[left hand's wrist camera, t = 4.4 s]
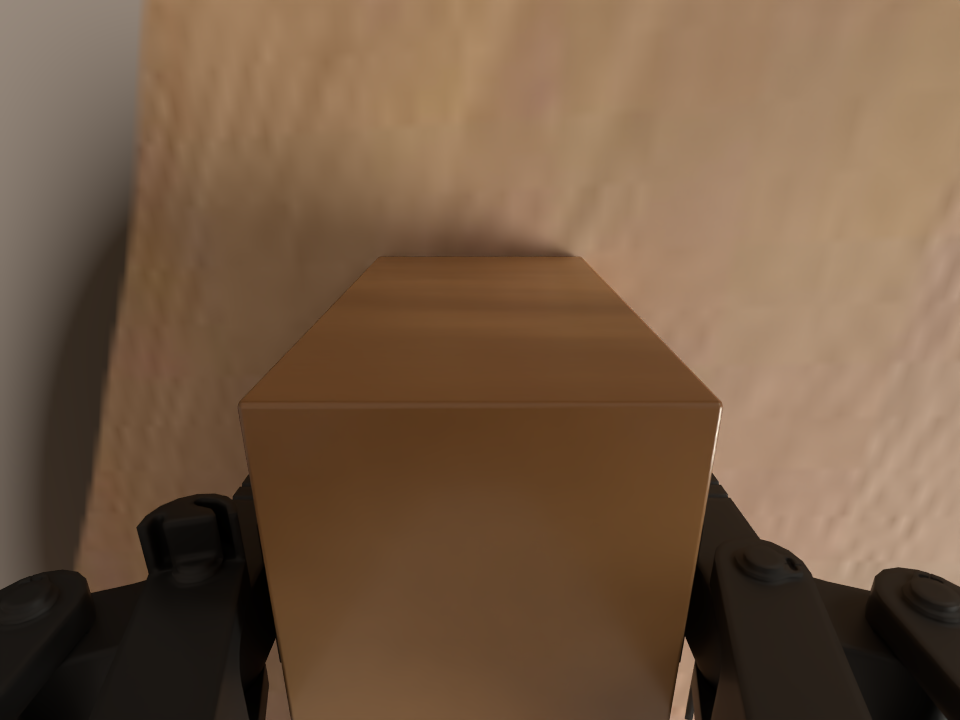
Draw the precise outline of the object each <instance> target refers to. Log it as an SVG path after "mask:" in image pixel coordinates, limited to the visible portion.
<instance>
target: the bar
mask: <svg viewBox="0 0 960 720" xmlns="http://www.w3.org/2000/svg"><path fill="white" fill-rule="evenodd" d="M722 410H723V405H722V402H721V401H720V400H719V399H718V398H717V397H716V396H715V395H714V394H713V393H712V392H711V391H710V390H709V389H708V388H707V387H706V386H705V384H704V383H703V382H702V381H701V380H700V379H699V378H698V377H697V376H696V375H695V374H694V373H693V372H692V371H691V370H690V369H689V368H688V367H687V366H686V365H685V364H684V363H683V362H682V361H681V360H680V359H679V358H678V357H677V356H676V354H675V353H674V352H673V351H672V350H671V349H670V348H669V347H668V346H667V345H666V344H665V343H664V342H663V341H662V340H661V339H660V338H659V337H658V336H657V335H656V334H655V333H654V332H653V331H652V330H651V329H650V328H649V327H648V326H647V325H646V323H645V322H644V321H643V320H642V319H641V318H640V317H639V316H638V315H637V314H636V313H635V312H634V311H633V310H632V309H631V308H630V307H629V306H628V305H627V304H626V303H625V302H624V301H623V300H622V299H621V298H620V297H619V296H618V295H617V293H616V292H615V291H614V290H613V289H612V288H611V287H610V286H609V285H608V284H607V283H606V282H605V281H604V280H603V279H602V278H601V277H600V276H599V275H598V274H597V273H596V272H595V271H594V270H593V269H592V268H591V267H590V266H589V265H588V264H587V262H586V261H585V260H584V259H583V258H582V257H379V258H378V259H377V260H376V261H375V262H374V263H373V264H372V265H371V266H370V267H369V268H368V269H367V270H366V271H365V272H364V273H363V274H362V275H361V276H360V277H359V278H358V279H357V280H356V281H355V282H354V283H353V285H352V286H351V287H350V288H349V289H348V290H347V291H346V292H345V293H344V294H343V295H342V296H341V297H340V298H339V299H338V300H337V301H336V302H335V303H334V304H333V305H332V306H331V307H330V308H329V309H328V310H327V312H326V313H325V314H324V315H323V316H322V317H321V318H320V319H319V320H318V321H317V322H316V323H315V324H314V325H313V326H312V327H311V328H310V329H309V330H308V331H307V332H306V333H305V334H304V335H303V336H302V337H301V338H300V340H299V341H298V342H297V343H296V344H295V345H294V346H293V347H292V348H291V349H290V350H289V351H288V352H287V353H286V354H285V355H284V356H283V357H282V358H281V359H280V360H279V361H278V362H277V363H276V364H275V365H274V366H273V368H272V369H271V370H270V371H269V372H268V373H267V374H266V375H265V376H264V377H263V378H262V379H261V380H260V381H259V382H258V383H257V384H256V385H255V386H254V387H253V388H252V389H251V390H250V391H249V392H248V393H247V395H246V396H245V397H244V398H243V399H242V400H241V401H240V402H239V404H238V412H239V418H240V424H241V430H242V435H243V441H244V447H245V453H246V459H247V465H248V471H249V476H250V482H251V488H252V494H253V500H254V506H255V511H256V517H257V523H258V529H259V535H260V541H261V546H262V552H263V558H264V564H265V570H266V576H267V582H268V587H269V593H270V599H271V605H272V611H273V617H274V622H275V628H276V634H277V640H278V646H279V652H280V657H281V663H282V669H283V675H284V681H285V687H286V693H287V698H288V704H289V710H290V716H291V720H669V719H670V713H671V707H672V702H673V696H674V690H675V684H676V678H677V673H678V667H679V661H680V655H681V649H682V643H683V638H684V632H685V626H686V620H687V614H688V608H689V603H690V597H691V591H692V585H693V579H694V574H695V568H696V562H697V556H698V550H699V544H700V539H701V533H702V527H703V521H704V515H705V509H706V504H707V498H708V492H709V486H710V480H711V475H712V469H713V463H714V457H715V451H716V445H717V440H718V434H719V428H720V422H721V416H722Z"/></svg>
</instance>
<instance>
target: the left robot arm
mask: <svg viewBox="0 0 960 720" xmlns="http://www.w3.org/2000/svg"><path fill="white" fill-rule="evenodd" d="M137 531H138V535H139V539H140V543H141V546H142V550H143V554H144V558H145V561H146V565H147V569H148V573H149V575H148V578H147V580H145V581H142V582H138V583H135V584H130V585H126V586H121V587H117V588H112V589H108V590H103V591H99V592H94V593H90V589H89V586H88V583H87V580H86V578H85V577H83V576H82V575H81V574H80V573H78V572H75V571H68V570H57V571H49V572H43V573H39V574H36V575H33V576H29V577H26V578H24V579H21V580H19V581H17V582H15V583H13V584H11V585H9V586H7V587H5V588H3V589H1V590H0V720H265V717H266V708H267V698H268V689H269V682H268V675H267V669H266V664H265V662H266V660H267V657H268V655H269V653H270V650H271V648H272V646H273V643H274V641H275V638H276V642H277V647H278V653H279V659H280V662H281V657H280V652H279V646H278V640H277V634H276V628H275V622H274V617H273V611H272V605H271V599H270V593H269V587H268V582H267V576H266V570H265V564H264V558H263V552H262V546H261V541H260V535H259V529H258V523H257V517H256V511H255V506H254V500H253V494H252V488H251V482H250V476H249V475H248V476H247V478H246V479H245V480H244V482H243V483H242V487H239V489H238V490H237V491H236V493H235V494H234V496H233V500H231V499H230V498H229V497H227V496H222V495H218V494H196V495H192V496H187V497H183V498H179V499H176V500H174V501H171V502H169V503H167V504H164V505H162V506H160V507H158V508H157V509H156V510H154V511H153V512H151V513H150V514H148V515H147V516H145V518H144V519H143V520H142V521H141V523H140V524H139V525H138V526H137ZM685 637H686V640H687V642H688V644H689V647H690V649H691V651H692V654H693V656H694V658H695V664H694V669H693V675H692V680H691V685H690V691H689V696H688V702H687V707H686V714H685V719H687V720H692V719H693V714H694V716H695V720H960V587H959V586H957V585H955V584H953V583H951V582H949V581H947V580H945V579H943V578H941V577H939V576H936V575H933V574H929V573H927V572H923V571H920V570H914V569H907V568H899V567H898V568H891V569H884V570H882V571H881V572H880V573H879V574H877V575H876V576H875V578H874V582H873V585H872V588H871V591H868V590H863V589H859V588H854V587H850V586H845V585H841V584H836V583H831V582H827V581H824V580H820V579H817V578H813V577H812V574H811V573H810V571H809V570H808V568H807V567H806V565H805V564H804V563H803V561H802V560H800V559H799V558H798V557H796V556H795V555H794V554H793V553H791V552H790V551H789V550H787V549H785V548H783V547H780V546H778V545H776V544H774V543H772V542H769V541H765V540H761V539H760V538H759V537H758V536H757V534H756V533H755V531H754V530H753V529H752V527H751V526H750V525H749V523H748V522H747V520H746V519H745V518H744V516H743V515H742V513H741V512H740V511H739V509H738V508H737V507H736V505H735V504H734V502H733V501H732V500H731V498H728V494H727V493H726V491H725V490H724V489H723V487H722V486H721V485H719V482H718V480H717V479H716V478H715V476H714V475H713V473H712V475H711V480H710V486H709V492H708V498H707V504H706V509H705V515H704V521H703V527H702V533H701V539H700V544H699V550H698V556H697V562H696V568H695V574H694V579H693V585H692V591H691V597H690V603H689V608H688V614H687V620H686V626H685V632H684V638H685ZM684 638H683V643H682V649H683V644H684ZM682 649H681V655H682ZM681 655H680V661H681ZM680 661H679V662H680Z"/></svg>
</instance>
